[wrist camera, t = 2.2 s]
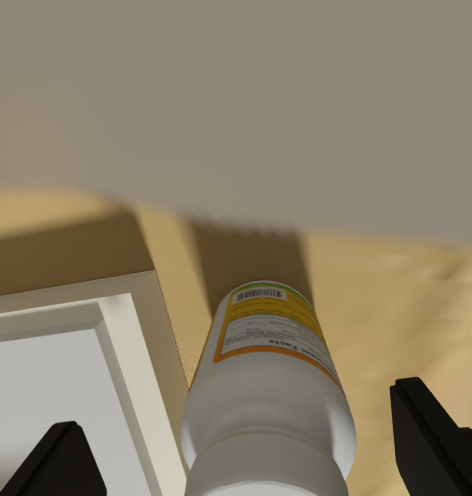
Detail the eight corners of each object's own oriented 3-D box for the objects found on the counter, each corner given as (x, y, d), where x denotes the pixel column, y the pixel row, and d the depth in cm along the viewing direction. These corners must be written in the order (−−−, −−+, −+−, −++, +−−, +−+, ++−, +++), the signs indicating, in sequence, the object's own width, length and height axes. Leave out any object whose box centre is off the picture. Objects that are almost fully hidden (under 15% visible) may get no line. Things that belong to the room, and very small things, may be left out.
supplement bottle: (267, 387, 17) (270, 664, 7) (193, 326, 16) (97, 542, 7) (339, 325, 15) (455, 565, 6) (262, 255, 15) (258, 404, 6)
